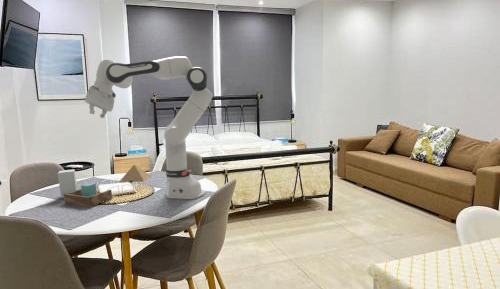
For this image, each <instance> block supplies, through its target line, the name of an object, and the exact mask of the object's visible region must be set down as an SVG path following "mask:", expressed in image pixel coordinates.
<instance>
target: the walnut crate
mask: <svg viewBox="0 0 500 289" xmlns="http://www.w3.org/2000/svg"><path fill="white" fill-rule="evenodd" d="M109 199H110V200H112V199H113V194H112V189H108V190H105V191H102V192H100V193H96V195H93V196H90V197H87V196H82V190H81V188H80V189H78V190H76V191H73V192H70V193H67V194H64V198H63V200H64V204H67V205H71V206H72V205H73V206H79V207H85V208H91V207H95V206H97V205H99V203H100V204H102V203H104V202H103V201H105V202H107V201H106V200H108V201H110V200H109ZM101 202H102V203H101Z"/></svg>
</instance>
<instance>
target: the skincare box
mask: <svg viewBox="0 0 500 289" xmlns="http://www.w3.org/2000/svg"><path fill="white" fill-rule="evenodd" d="M57 178H58V184H59V191H60V197H61V199H64V194H67V193H70V192H73V191H76V190H79V189H78V182H77V177H76V170H75V169H73V168H72V169H67V170H66V169H65V170H59V171H58V172H57Z"/></svg>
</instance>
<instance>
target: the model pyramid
mask: <svg viewBox="0 0 500 289" xmlns="http://www.w3.org/2000/svg"><path fill="white" fill-rule="evenodd" d="M150 176H151V174H149V173H148V172H146V171H145V170H143V169H141V167H139V166H137V165H136V164H133V165H132V166H131V167H130V169H129V170H128V171H127V172H126V173H125V174H124V175H123V176H122V178H121V179H120V180H119V181H118V182H119V183H126V182H129V183H131V182H132V183H133V182H145V181H146V180H147V179H149V177H150Z"/></svg>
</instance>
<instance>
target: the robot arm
mask: <svg viewBox="0 0 500 289" xmlns="http://www.w3.org/2000/svg"><path fill="white" fill-rule="evenodd" d="M95 75H96V77H95V78H96V79H95V81H94V85H90V86H89V89H88V90H87V93H86V95H85V99H84V101H85V103H87V104H89V114H91V115H94V114H95V112H96V111H95V107H96V108H98V109H100V110H102V111H101V112H102V113H100V116H99V117H100V118H101V119H105V117H106V115H107V113H108V112H110V113H111V112H112V111H113V109H114V106H115V99H116V97H117V94H116V93H115V91H114V90H113V86H115V87H118V88H120V89H128V88H129V87H131V85H132V84H133V81H134V80H133V79H134V78H133V77H137V76H143V75H146V76H147V75H148V76H152V77H155V78H157V79H159V80H163V81H165V80H173V79H178V78H185V80H186V82H187V84H188V85H189V86H190V87H191V89H192V93H191V95H190V96H189V98H188V99H187V100H186V102H185V103H184V104H183V105H182V106H181V108H180V110H179V111H178V112H177V114H176V115H175V117H174V118H173V119H172V121H171V122H170V123H169V124H168V125H167V126H166V128H165V130H164V135H163V136H164V142H165V162H166V163H165V164H166V170H165V176H166V189H165V197H166V198H167V199H178V200H179V199H180V200H195V199H198V198H201V197H203V196H204V195H206V190H203V189H202V186H201V183H200V181H198V180H197V179H196V178H194V176H192V175H191V172H192V169H189V168H188V161H187V160H188V159H187V147H186V138H187V137H188V136H189V134H190V133H191V131H192V130H193V128H194V127H195V125H196V124H197V123H198V121H199V120H200V118H201V117H202V115H204V113H205V111H206V110H207V109H208V108H209V105H210V103H211V101H212V99H213V93H212V92H211V90H210V89H208V88H207V83H208V74H207V72H206V70H205V69H204V68H202V67H200V66H194V67H193V65H192V63H191V59H189V58H188V57H187V56H183V55H182V56H180V55H179V56H170V57H165V58H160V59H157V60H156V59H155V60H150V61H140V62H132V63H121V62H116V61H115V60H114V61H113V60H110V59H103V60H101V61H100V62H99V64H98V67H97V70H96V74H95Z"/></svg>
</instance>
